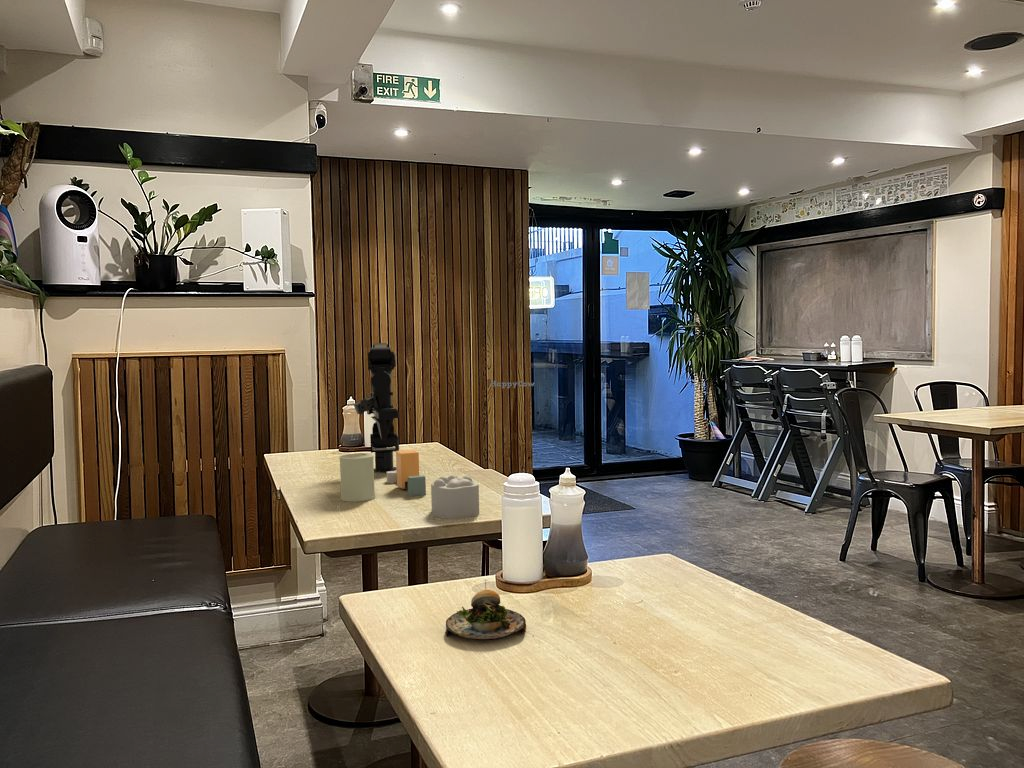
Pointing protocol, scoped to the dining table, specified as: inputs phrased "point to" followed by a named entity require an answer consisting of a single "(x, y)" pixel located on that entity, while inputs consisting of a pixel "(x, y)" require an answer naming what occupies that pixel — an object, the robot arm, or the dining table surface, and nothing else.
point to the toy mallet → (410, 483)
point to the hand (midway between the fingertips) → (383, 439)
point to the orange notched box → (406, 466)
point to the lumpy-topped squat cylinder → (455, 497)
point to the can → (357, 477)
